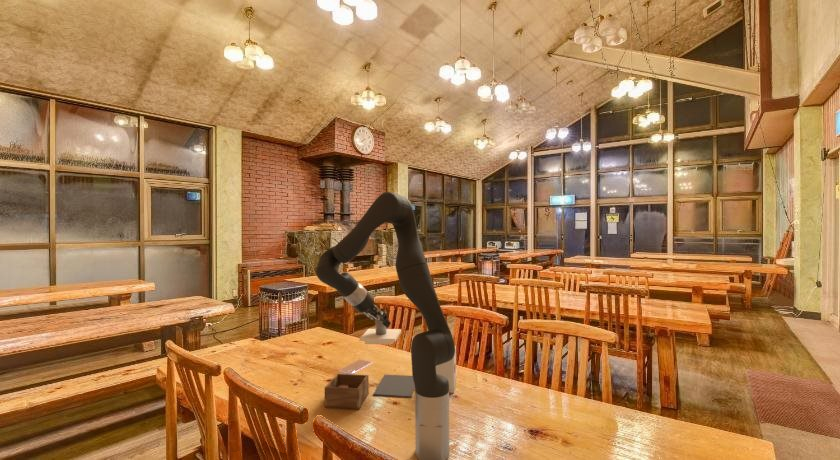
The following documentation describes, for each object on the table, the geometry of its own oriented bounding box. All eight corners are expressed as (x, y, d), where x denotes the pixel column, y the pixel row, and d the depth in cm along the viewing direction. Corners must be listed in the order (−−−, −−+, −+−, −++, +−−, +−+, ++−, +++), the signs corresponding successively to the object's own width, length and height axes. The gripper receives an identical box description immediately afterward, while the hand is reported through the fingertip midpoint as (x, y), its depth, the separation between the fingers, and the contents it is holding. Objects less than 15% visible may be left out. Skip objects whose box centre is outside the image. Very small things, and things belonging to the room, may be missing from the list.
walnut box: (358, 409, 127) (358, 389, 127) (324, 407, 129) (324, 387, 129) (368, 394, 139) (368, 375, 139) (337, 392, 141) (337, 373, 141)
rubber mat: (411, 397, 136) (411, 396, 136) (373, 395, 138) (373, 393, 138) (418, 377, 154) (418, 376, 154) (384, 375, 156) (384, 374, 156)
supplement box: (454, 393, 139) (454, 353, 139) (430, 391, 141) (429, 351, 141) (456, 383, 148) (456, 345, 148) (434, 381, 150) (433, 344, 149)
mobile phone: (373, 361, 170) (351, 373, 157) (373, 363, 170) (351, 375, 157) (359, 358, 174) (337, 369, 161) (359, 361, 174) (337, 372, 161)
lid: (395, 345, 134) (394, 316, 134) (359, 345, 136) (359, 315, 136) (401, 335, 147) (400, 308, 147) (368, 335, 149) (368, 308, 149)
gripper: (375, 290, 131) (402, 319, 140) (352, 286, 142) (379, 313, 150) (363, 308, 128) (391, 336, 136) (340, 302, 138) (368, 329, 146)
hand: (385, 324), depth 143 cm, fingers closed on lid, 4 cm apart
